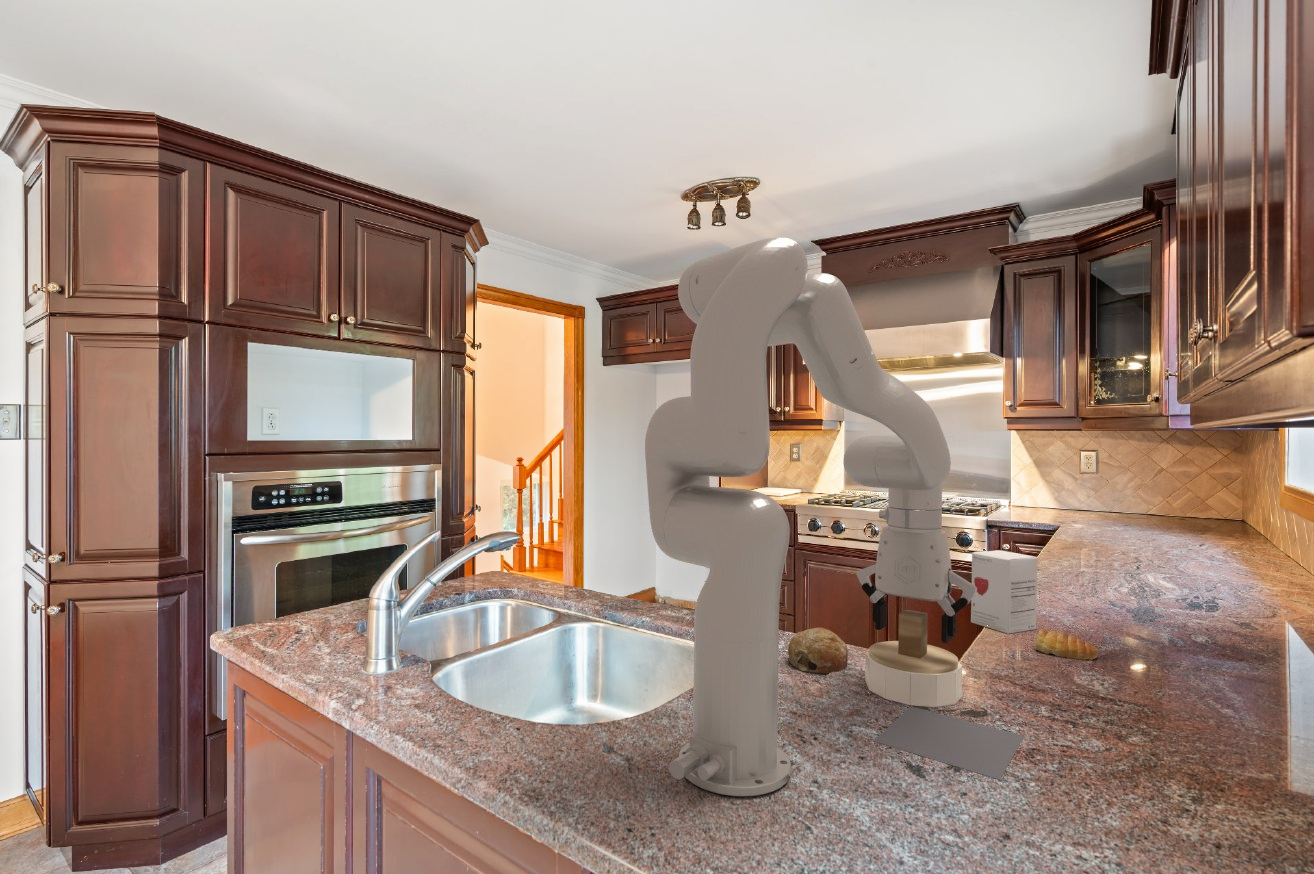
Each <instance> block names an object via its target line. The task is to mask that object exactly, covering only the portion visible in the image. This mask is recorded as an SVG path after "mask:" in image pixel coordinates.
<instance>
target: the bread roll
mask: <svg viewBox="0 0 1314 874" xmlns="http://www.w3.org/2000/svg"><path fill="white" fill-rule="evenodd" d="M787 653H788V658H789V662H790V663H791V665H792V666H793V667H794V668H796V669H798V670H799V671H801V672H808V673H814V674H824V675H829V674H831V673H832V672H839V671H840V672H841V671H843V670H845V669H847V667H848V655H849V651H848V647H847V644H846V643H845V641H844V640H843V639H841V638H840V636H838V635H837V634H836V633H835V632H833V631H831V630H830V629H827V628H825V627H819V626H818V627H813V628H809V629H805V630H803V631H802V630H801V631H798V632H797V633H795V634H794V635H793V636H792V637H791V639H790V641H789V644H788V650H787Z"/></svg>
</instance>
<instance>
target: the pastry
mask: <svg viewBox="0 0 1314 874" xmlns="http://www.w3.org/2000/svg"><path fill="white" fill-rule="evenodd" d="M1036 637H1037V638H1036V641H1035V645H1034V648H1035V649H1036V650H1037V651H1038V652H1041V653H1042V654H1045V655H1049V654H1053V655H1054V656H1056V657H1060V658H1067V659H1074V660H1080V661H1083V660H1084V661H1085V660H1092V661H1093V660H1095V659H1097V657H1098V652H1099V648H1097V647H1096V646H1094V645H1093V644H1092V643H1089V642H1086V641H1084V640H1082V639H1080V638H1078V637H1076V636H1073V635H1070V634H1068V633H1066V632H1058V631H1056V630H1052V631H1049V630H1046V629H1045V628H1041V629H1040V630H1038V634H1037V636H1036Z"/></svg>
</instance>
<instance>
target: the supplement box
mask: <svg viewBox="0 0 1314 874" xmlns="http://www.w3.org/2000/svg"><path fill="white" fill-rule="evenodd" d="M1038 561H1039V557H1037V556H1035V555H1034V556H1033V555H1028V554H1022V553H1016V552H1012V551H1008V550H1001V549H998V550H996V549H995V550H986V551H974V552H972V553H971V583H972V584H973V585H975V586H976V587H977V591H976V593H975V594H974V596H973V598H972V599H971V601H970V605H971V606H970V608H971V609H970V622H971V624H972V623H973V624H975V625H979V626H982V627H985V628H988V629H992V630H994V631H998V632H1001V633H1004V634H1009V635H1010V634H1015V633H1021V632H1027V631H1033V630H1037V607H1038V605H1037V603H1038V600H1037V598H1038V597H1037V596H1038V595H1037V594H1038V564H1039V563H1038ZM987 625H988V627H987Z"/></svg>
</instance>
